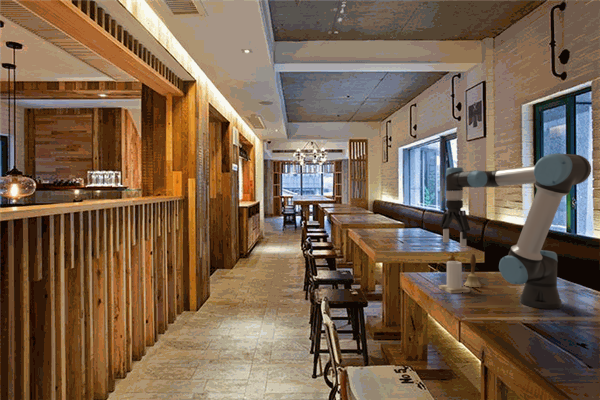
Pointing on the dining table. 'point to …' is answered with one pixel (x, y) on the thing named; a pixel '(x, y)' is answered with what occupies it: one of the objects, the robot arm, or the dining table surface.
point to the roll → (454, 274)
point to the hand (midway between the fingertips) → (454, 244)
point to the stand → (450, 290)
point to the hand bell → (472, 274)
